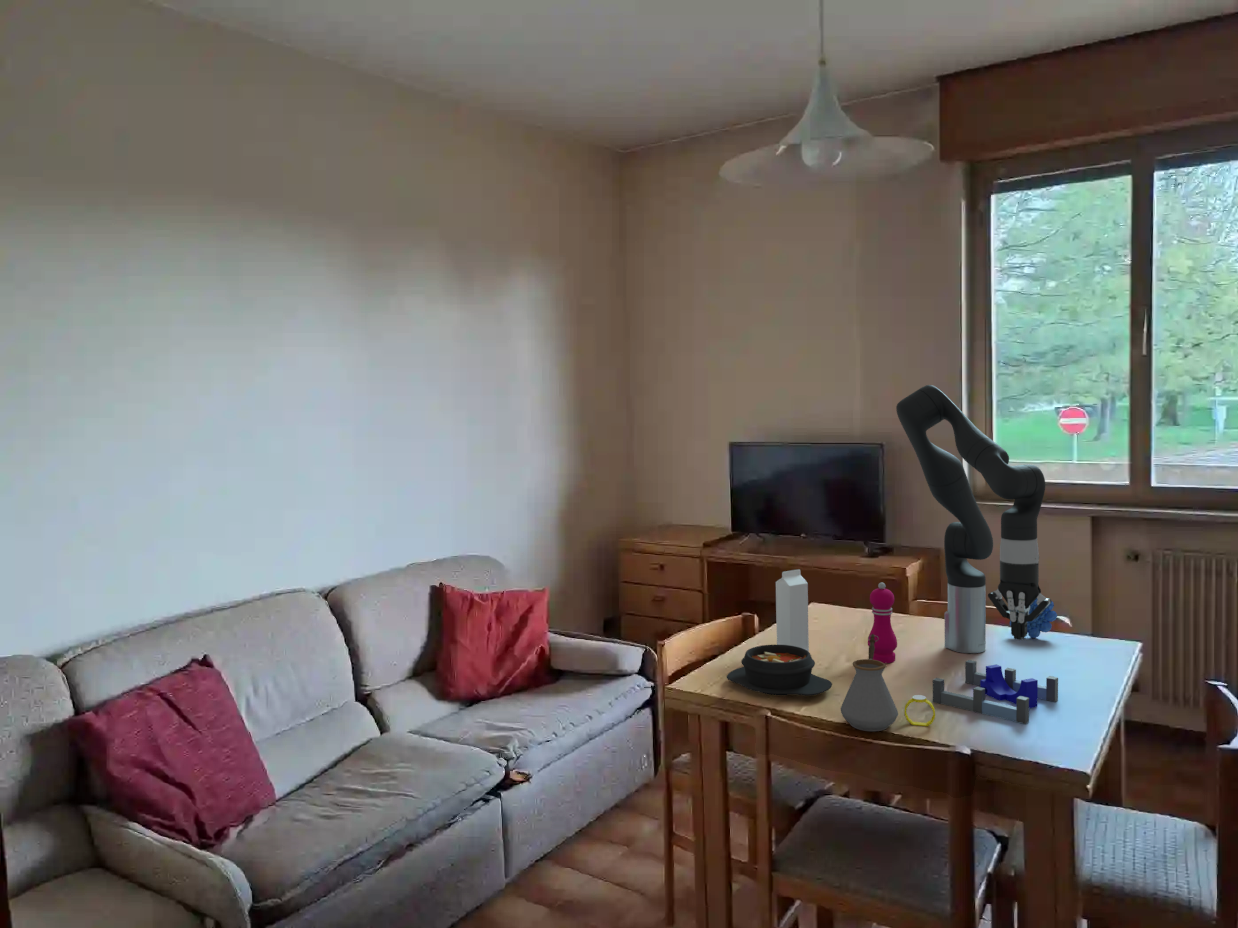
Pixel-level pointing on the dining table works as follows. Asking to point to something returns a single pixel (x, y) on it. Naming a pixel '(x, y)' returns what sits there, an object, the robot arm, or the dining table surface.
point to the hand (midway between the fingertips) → (1019, 638)
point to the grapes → (1040, 620)
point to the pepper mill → (883, 624)
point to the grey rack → (989, 707)
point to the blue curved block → (1002, 691)
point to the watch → (920, 700)
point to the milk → (792, 610)
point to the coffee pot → (869, 696)
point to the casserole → (779, 671)
